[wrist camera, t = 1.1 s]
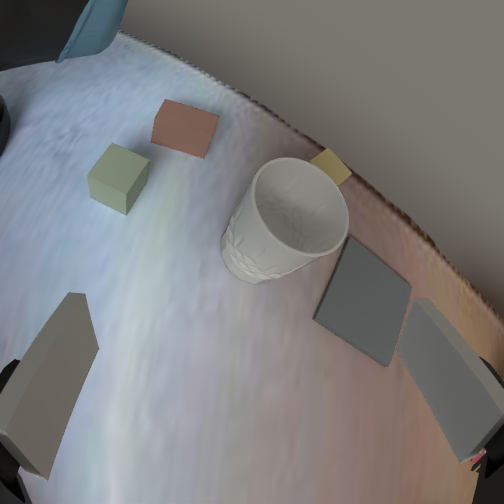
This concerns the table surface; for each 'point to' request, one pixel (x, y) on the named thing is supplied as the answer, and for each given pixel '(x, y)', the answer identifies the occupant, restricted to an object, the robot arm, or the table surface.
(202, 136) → the brick-red long block
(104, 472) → the table surface
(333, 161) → the mustard block
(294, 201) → the white cup
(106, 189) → the sage block
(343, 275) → the slate coaster
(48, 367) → the robot arm
